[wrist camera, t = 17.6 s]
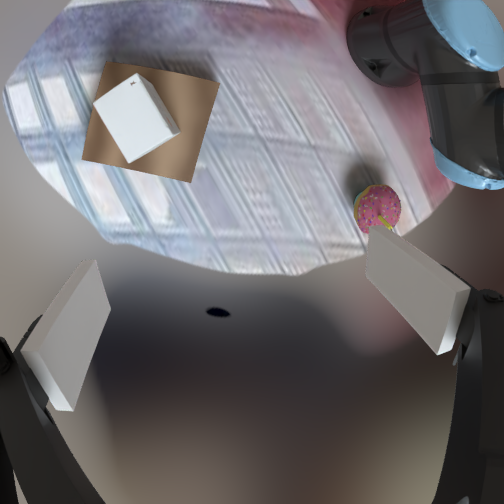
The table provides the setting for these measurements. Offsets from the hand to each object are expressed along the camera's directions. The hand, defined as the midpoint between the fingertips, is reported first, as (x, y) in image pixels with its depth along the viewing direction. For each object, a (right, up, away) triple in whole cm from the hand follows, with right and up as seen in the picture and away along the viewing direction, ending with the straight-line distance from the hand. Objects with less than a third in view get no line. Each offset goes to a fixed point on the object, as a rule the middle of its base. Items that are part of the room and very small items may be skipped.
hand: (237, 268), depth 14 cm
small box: (-13, +18, +23) cm, 32 cm away
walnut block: (-14, +20, +28) cm, 37 cm away
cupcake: (+20, +9, +38) cm, 44 cm away
